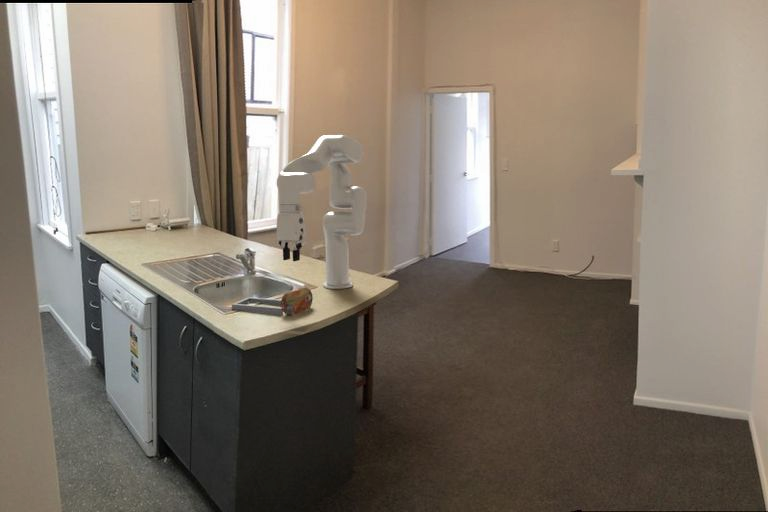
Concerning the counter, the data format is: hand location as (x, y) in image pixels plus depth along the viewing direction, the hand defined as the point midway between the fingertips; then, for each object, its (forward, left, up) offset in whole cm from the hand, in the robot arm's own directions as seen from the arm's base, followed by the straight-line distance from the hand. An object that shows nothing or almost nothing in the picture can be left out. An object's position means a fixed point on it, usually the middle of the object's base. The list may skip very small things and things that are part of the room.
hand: (291, 259), depth 210 cm
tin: (0, +2, -20) cm, 20 cm away
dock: (0, -11, -19) cm, 22 cm away
